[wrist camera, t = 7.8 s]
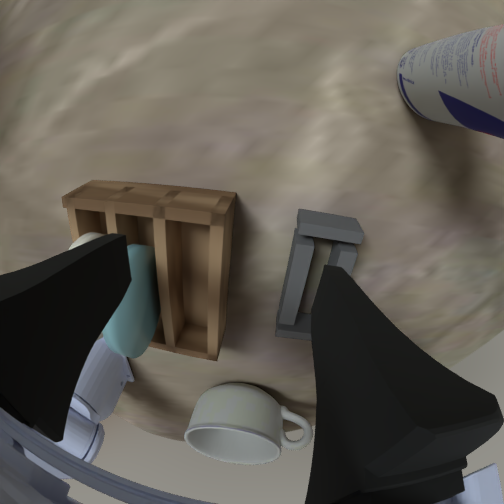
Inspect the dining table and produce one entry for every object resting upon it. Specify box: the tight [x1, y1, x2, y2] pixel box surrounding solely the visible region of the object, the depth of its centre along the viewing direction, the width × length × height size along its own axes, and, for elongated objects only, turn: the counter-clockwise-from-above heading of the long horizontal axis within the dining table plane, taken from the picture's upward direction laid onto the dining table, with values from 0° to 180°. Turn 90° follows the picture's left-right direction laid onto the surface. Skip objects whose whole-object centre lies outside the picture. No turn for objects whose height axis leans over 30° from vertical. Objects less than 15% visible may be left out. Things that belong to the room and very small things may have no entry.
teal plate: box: [102, 244, 161, 358], centre depth 18 cm, size 8×1×8 cm, turn 174°
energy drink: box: [397, 24, 504, 139], centre depth 8 cm, size 5×5×12 cm
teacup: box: [184, 383, 313, 465], centre depth 28 cm, size 14×11×8 cm
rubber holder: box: [275, 209, 364, 341], centre depth 20 cm, size 10×4×2 cm, turn 174°
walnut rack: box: [62, 180, 236, 361], centre depth 21 cm, size 13×12×4 cm
